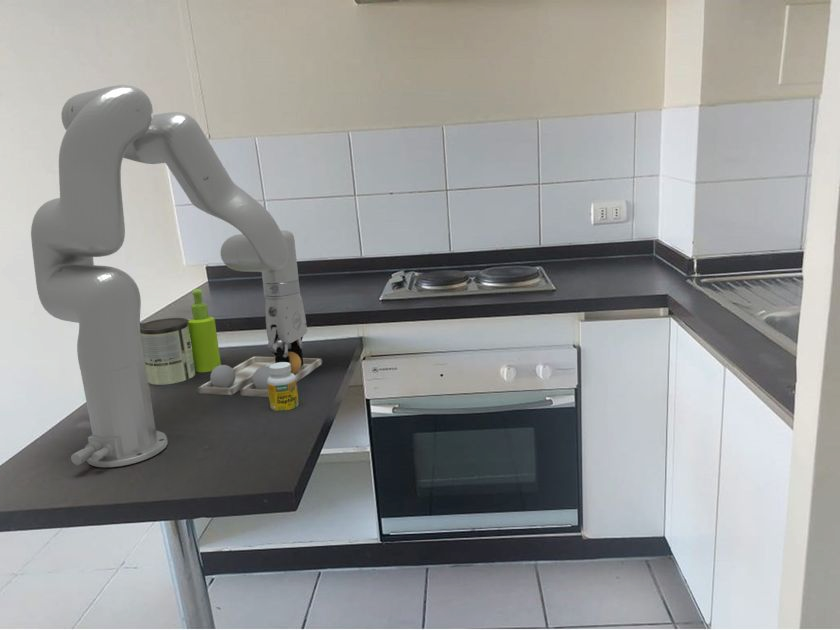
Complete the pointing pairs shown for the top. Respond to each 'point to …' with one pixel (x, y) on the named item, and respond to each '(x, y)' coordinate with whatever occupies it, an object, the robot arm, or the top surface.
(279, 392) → the supplement bottle
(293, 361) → the orange ball
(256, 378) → the grey ball front
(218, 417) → the top surface
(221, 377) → the grey ball back
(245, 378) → the trough board
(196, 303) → the soap dispenser
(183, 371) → the coffee can
